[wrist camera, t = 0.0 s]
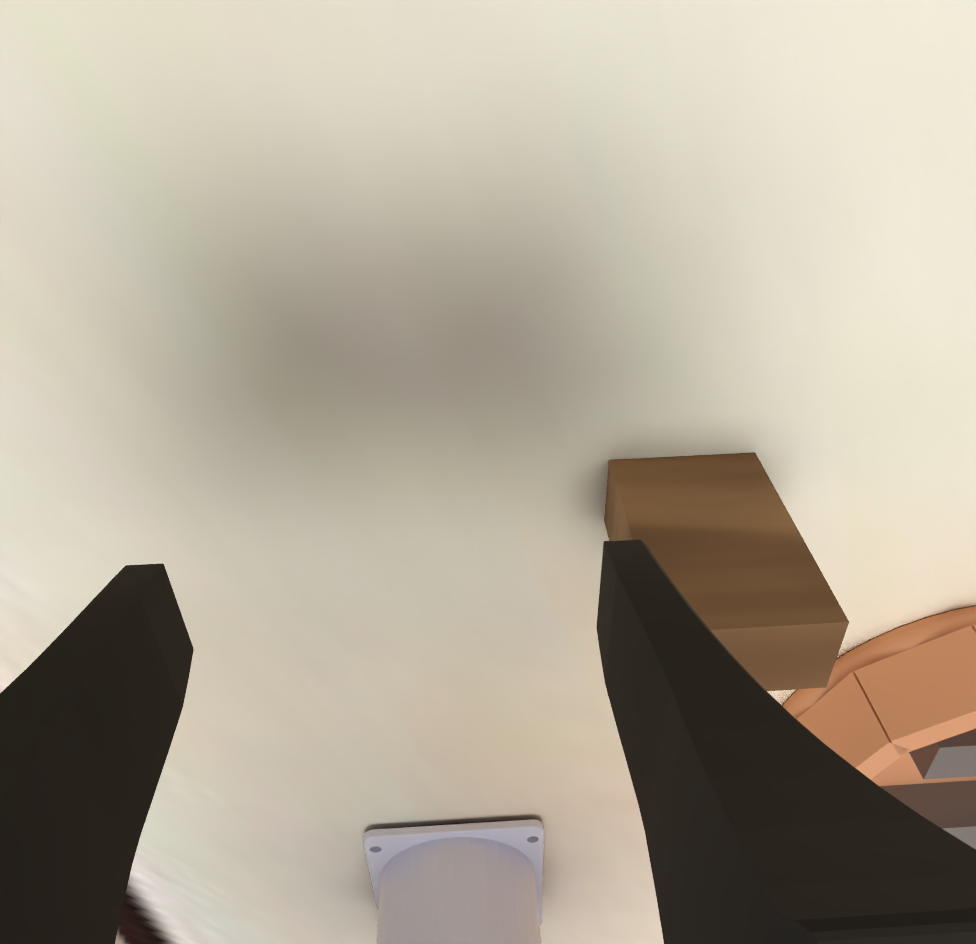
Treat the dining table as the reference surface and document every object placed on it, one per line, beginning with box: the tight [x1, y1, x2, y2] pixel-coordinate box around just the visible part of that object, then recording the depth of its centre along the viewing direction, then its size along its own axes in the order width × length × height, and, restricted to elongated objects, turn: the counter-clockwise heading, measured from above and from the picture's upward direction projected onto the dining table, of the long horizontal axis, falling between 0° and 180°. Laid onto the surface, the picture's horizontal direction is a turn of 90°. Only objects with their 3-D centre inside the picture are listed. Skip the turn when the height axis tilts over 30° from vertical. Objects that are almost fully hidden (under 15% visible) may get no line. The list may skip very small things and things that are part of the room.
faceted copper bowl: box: [783, 606, 976, 849], centre depth 32 cm, size 16×16×4 cm
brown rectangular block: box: [604, 453, 849, 691], centre depth 23 cm, size 2×4×7 cm, turn 92°
